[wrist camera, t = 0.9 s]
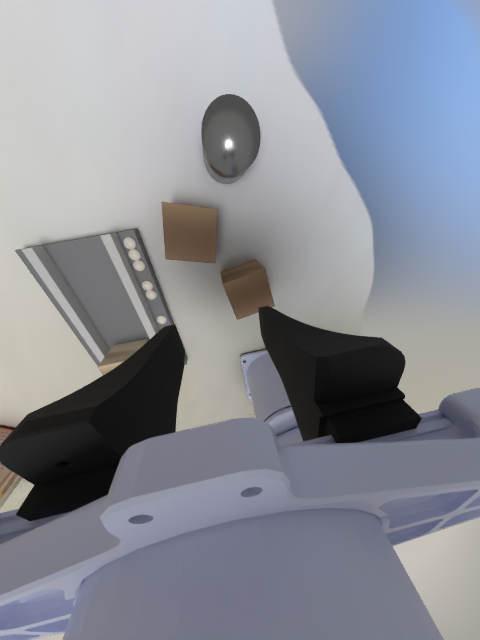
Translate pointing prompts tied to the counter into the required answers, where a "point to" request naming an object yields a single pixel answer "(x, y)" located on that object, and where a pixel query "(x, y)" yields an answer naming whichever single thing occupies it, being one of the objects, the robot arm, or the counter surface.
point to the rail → (101, 288)
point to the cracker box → (6, 473)
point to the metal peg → (229, 138)
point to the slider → (119, 355)
